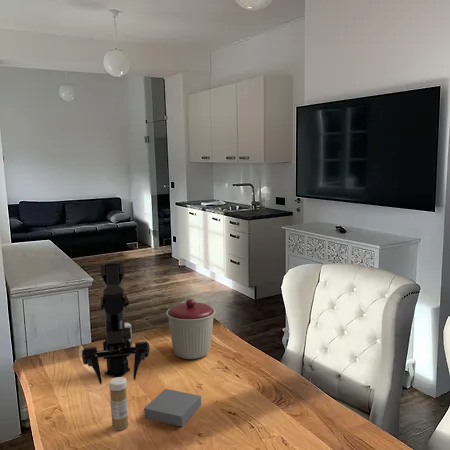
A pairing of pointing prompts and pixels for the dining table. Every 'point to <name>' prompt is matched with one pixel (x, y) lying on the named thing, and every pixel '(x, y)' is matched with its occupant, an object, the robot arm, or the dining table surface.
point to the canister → (191, 328)
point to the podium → (172, 407)
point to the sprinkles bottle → (118, 403)
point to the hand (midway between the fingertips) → (117, 381)
